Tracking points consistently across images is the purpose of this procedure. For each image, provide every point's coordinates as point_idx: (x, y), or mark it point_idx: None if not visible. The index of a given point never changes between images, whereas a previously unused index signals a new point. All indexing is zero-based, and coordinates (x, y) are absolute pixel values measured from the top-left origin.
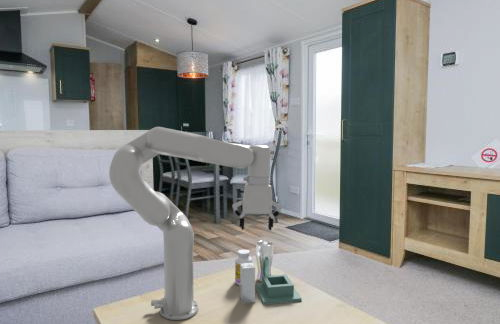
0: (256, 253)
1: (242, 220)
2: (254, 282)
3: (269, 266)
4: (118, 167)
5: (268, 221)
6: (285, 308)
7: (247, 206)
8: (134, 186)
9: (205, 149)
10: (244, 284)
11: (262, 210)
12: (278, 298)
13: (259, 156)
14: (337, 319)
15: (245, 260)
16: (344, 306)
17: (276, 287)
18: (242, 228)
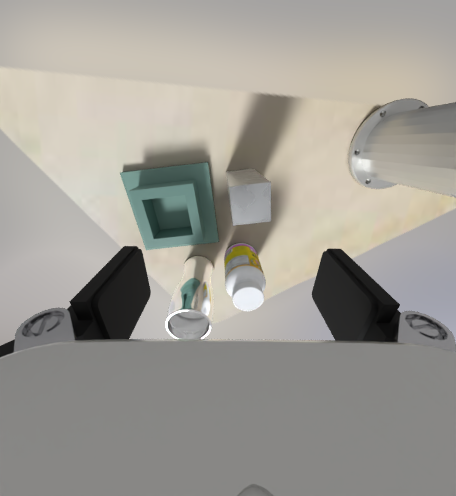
0: (213, 302)
1: (383, 291)
2: (228, 178)
3: (184, 276)
4: None
5: (134, 327)
6: (159, 139)
7: None
8: None
9: None
10: (255, 174)
11: (127, 415)
12: (172, 175)
13: None
14: (29, 70)
15: (243, 274)
16: (18, 138)
17: (172, 185)
18: (339, 251)
